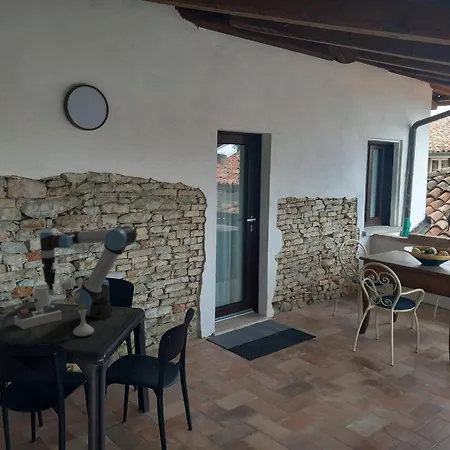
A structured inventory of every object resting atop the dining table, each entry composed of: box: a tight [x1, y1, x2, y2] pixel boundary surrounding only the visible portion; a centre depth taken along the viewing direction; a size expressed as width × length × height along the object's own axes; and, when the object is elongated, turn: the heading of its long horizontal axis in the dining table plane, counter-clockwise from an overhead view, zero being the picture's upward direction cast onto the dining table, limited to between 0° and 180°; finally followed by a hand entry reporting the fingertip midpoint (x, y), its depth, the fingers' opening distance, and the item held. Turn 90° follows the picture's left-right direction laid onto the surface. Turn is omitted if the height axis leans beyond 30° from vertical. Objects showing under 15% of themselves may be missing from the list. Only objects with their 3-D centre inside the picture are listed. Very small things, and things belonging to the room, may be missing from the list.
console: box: [13, 304, 63, 330], centre depth 285 cm, size 12×24×8 cm, turn 136°
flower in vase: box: [68, 292, 95, 337], centre depth 262 cm, size 13×11×25 cm
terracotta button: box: [20, 308, 30, 315], centre depth 279 cm, size 4×4×2 cm
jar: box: [33, 283, 52, 310], centre depth 310 cm, size 11×10×15 cm
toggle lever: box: [33, 298, 39, 312], centre depth 285 cm, size 2×2×8 cm
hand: (50, 294), depth 289 cm, fingers closed
